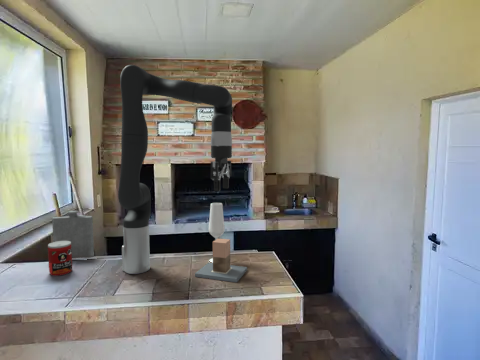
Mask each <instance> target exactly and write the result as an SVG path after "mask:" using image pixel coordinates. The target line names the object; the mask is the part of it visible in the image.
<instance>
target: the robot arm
mask: <svg viewBox="0 0 480 360" xmlns="http://www.w3.org/2000/svg"><path fill="white" fill-rule="evenodd" d="M119 81H120V82H119V83H120V95H121V133H120V135H121V136H120V137H121V140H120V141H121V143H120V144H121V145H120V146H121V147H120V148H121V155H120V156H121V157H120V175H119V176H120V177H119V182H118V183H119V184H118V190H117V191H118V193H117V197H118V199H117V200H118V203H119V205H120V206H121V207H122V208H123V209H125V210H127V214H126V215H125V217H124V218H123V220H122V225H123V226H122V227H123V228H122V229H123V232H122V233H123V245H122V246H121V263H122V265H121V266H122V267H121V269H122V271H123V272H125V273H126V274H130V275H136V274H142V273H147V271H150V268H151V259H150V257H151V256H150V252H151V251H150V227H149V226H150V218H151V214H152V205H151V204H152V196H151V195H152V193H151V192H150V188H149V187H148V186H147V185H146V184H145V183H142V182H140V181H141V179H140V175H141V169H142V167H143V163H144V161H145V158H146V155H147V152H148V147H149V146H148V145H149V131H148V125H147V124H148V123H147V122H146V118H145V117H146V116H145V114H144V113H145V112H144V109H143V96H149V95H150V96H161V97H166V98H171V99H176V100H179V101H184V102H187V103H188V102H189V103H192V104H197V105H198V104H205V105H209V106H212V107H213V115H212V118H211V134H210V135H211V136H210V157H211V159H215V160H214V161H210V180H212V181H213V191H214V192H220V191H221V178H222V188H223V189H229V188H230V185H229V184H230V177H232V160H229V159H231V158H233V137H232V119H231V117H232V112H233V97H232V94H231V93H230V91H229V90H228V89H227V88H226V87H224V86H222V85H216V84H202V83H199V82H194V81H191V80H184V79H167V78H163V77H159V76H156V75H154V74H151V73H149V72H148V71H146V70H145V69H143V68H142V67H140V66H138V65H135V64H128V65H126V66H125V67H124V68H122V71H121V73H120V79H119Z"/></svg>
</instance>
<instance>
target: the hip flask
mask: <svg viewBox="0 0 480 360" xmlns="http://www.w3.org/2000/svg"><path fill="white" fill-rule="evenodd" d="M78 213H79V212H78V210H70V211H68V212H67V214H68V216H55V217H54V216H53V217H52V218H51V222H52V241H53V242H56V241H70V242H71V249H72V259H80V258H83V259H86V258H88V259H91V258H93V257H95V253H94V251H95V245H94V225H93V222H94V221H93V216H92V215H80V214H78Z"/></svg>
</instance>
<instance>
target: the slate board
mask: <svg viewBox="0 0 480 360" xmlns="http://www.w3.org/2000/svg"><path fill="white" fill-rule="evenodd" d="M247 271H248V267H247V266H241V265H239V266H238V265H234V264H232V265H231V264H230V269H229V270H228V271H227V272H226V273H223V272H215V271H213V263H210V262H207V263H206V264H205V265H204V266H202V267H201V268H200V269H199V270H198V271H196V272H195V273H194V276H195V277H196V278H203V279H208V278H209V279H210V280H217V281H225V282H231V283H238V282H239V280H240V279H241V278H242V277H243V276H244V274H245V273H246V272H247Z"/></svg>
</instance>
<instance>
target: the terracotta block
mask: <svg viewBox="0 0 480 360" xmlns="http://www.w3.org/2000/svg"><path fill="white" fill-rule="evenodd" d="M228 255H230V256H231V239H228V238H220V237H219V238H218V239H216V240H215V239H214V240H213V241H212V258H213V257H220V258H226V257H227V256H228Z"/></svg>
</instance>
